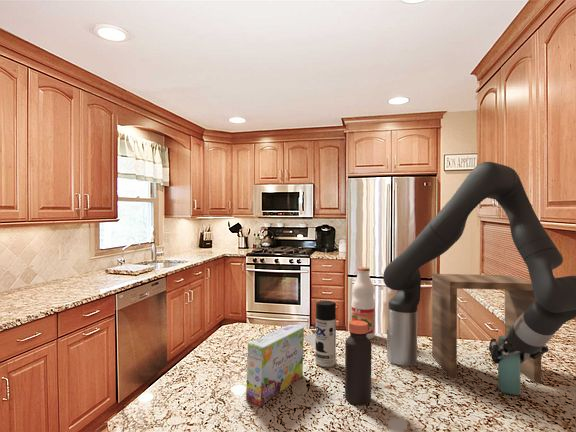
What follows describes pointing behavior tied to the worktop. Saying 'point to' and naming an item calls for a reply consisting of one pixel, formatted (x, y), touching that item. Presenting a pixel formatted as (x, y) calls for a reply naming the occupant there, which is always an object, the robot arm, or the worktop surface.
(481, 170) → the robot arm
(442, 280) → the walnut shelf
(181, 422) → the worktop surface
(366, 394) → the bottle
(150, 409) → the worktop surface
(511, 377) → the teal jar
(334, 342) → the spray can
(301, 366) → the snack box
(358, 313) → the fruit juice
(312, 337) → the kitchen cleaver
